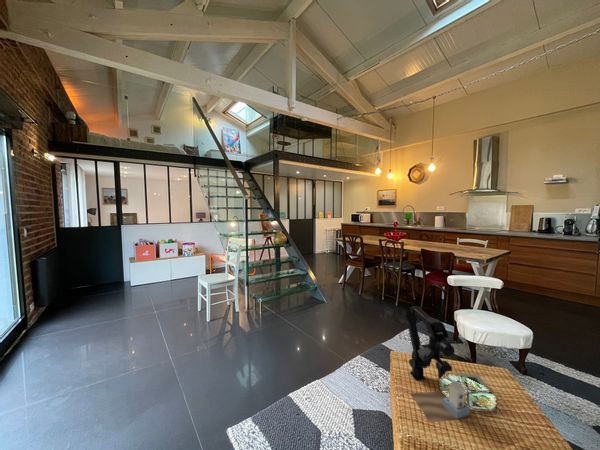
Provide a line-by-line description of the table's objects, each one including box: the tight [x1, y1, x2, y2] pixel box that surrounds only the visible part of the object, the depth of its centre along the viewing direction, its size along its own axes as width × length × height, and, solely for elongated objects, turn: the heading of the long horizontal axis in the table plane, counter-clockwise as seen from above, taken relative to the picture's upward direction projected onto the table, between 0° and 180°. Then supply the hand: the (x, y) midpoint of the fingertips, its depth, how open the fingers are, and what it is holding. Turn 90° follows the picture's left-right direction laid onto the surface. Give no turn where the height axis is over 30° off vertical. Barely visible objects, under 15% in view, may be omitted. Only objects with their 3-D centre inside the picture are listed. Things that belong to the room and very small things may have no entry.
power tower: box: [448, 381, 466, 410], centre depth 117 cm, size 5×4×12 cm
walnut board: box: [409, 390, 474, 423], centre depth 120 cm, size 17×22×1 cm
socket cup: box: [443, 397, 471, 419], centre depth 117 cm, size 8×8×4 cm
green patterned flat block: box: [458, 372, 491, 391], centre depth 135 cm, size 13×10×2 cm
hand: (433, 372), depth 127 cm, fingers open, 9 cm apart
